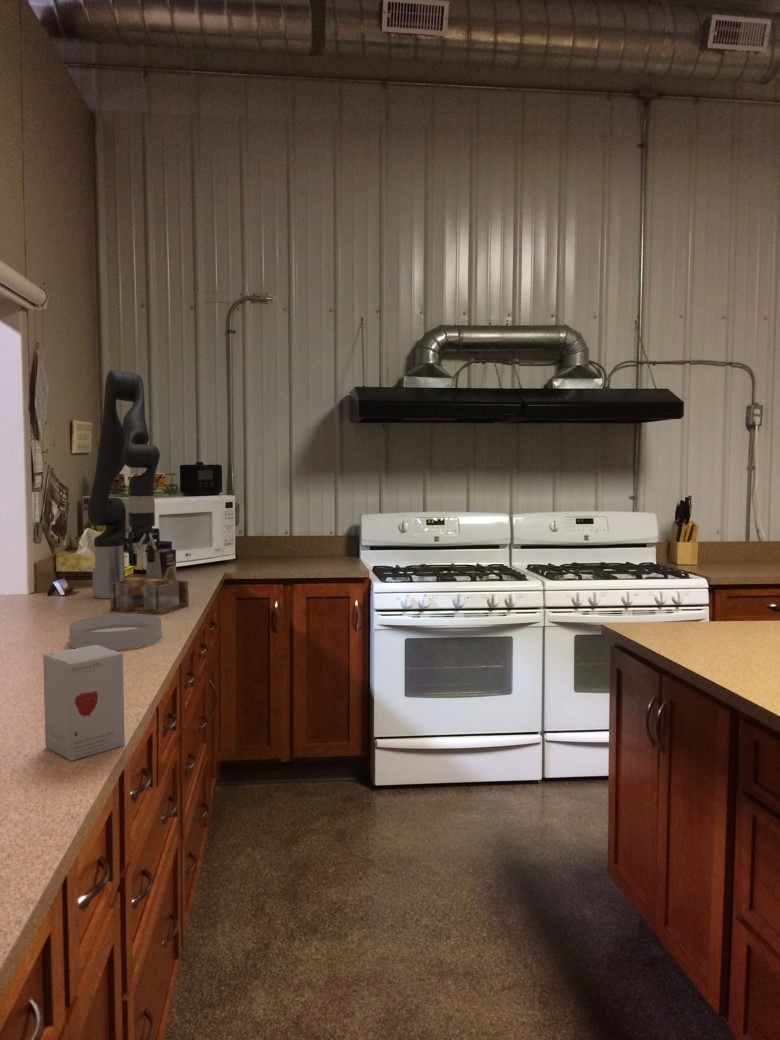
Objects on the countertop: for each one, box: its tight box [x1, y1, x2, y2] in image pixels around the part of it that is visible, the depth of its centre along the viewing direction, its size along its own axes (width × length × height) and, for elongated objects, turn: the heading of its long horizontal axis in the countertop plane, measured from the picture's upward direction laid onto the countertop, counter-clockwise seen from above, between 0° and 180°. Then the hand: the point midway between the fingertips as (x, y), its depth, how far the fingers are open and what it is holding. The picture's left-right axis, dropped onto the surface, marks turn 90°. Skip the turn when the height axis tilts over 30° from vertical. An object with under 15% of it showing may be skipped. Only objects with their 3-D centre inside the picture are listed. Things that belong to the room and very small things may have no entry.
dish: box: [68, 613, 163, 651], centre depth 187 cm, size 22×22×5 cm
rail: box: [123, 577, 167, 596], centre depth 226 cm, size 13×4×4 cm, turn 72°
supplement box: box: [42, 645, 126, 762], centre depth 116 cm, size 9×9×15 cm
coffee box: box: [145, 548, 177, 580], centre depth 245 cm, size 9×6×16 cm
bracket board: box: [109, 579, 189, 615], centre depth 228 cm, size 18×14×8 cm
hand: (142, 564), depth 225 cm, fingers open, 8 cm apart
